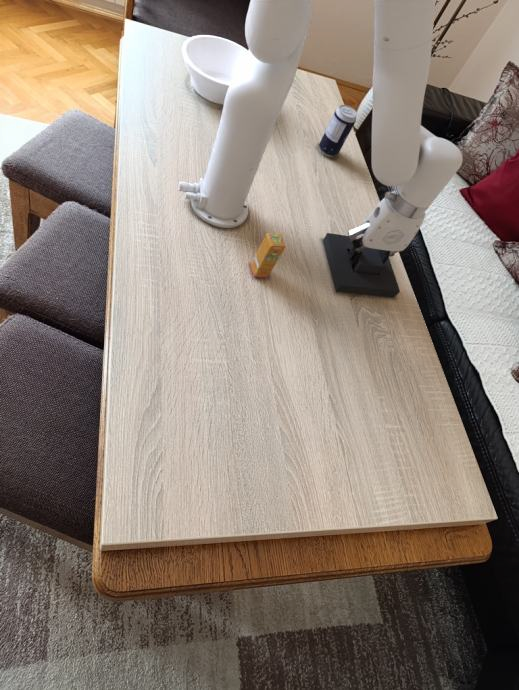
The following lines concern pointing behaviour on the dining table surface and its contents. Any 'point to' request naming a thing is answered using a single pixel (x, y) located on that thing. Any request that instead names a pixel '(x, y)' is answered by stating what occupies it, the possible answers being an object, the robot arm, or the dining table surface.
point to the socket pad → (354, 281)
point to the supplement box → (267, 255)
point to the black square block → (369, 262)
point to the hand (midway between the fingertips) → (364, 261)
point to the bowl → (212, 64)
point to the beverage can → (338, 130)
